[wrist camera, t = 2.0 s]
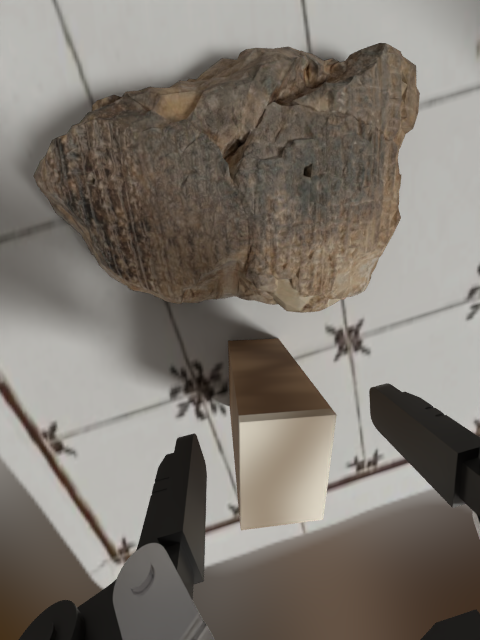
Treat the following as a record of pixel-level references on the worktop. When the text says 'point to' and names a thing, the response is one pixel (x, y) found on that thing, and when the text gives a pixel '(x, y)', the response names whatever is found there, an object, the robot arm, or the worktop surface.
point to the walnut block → (277, 436)
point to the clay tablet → (243, 177)
